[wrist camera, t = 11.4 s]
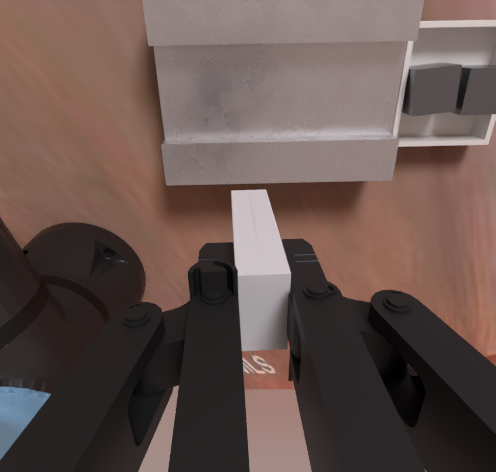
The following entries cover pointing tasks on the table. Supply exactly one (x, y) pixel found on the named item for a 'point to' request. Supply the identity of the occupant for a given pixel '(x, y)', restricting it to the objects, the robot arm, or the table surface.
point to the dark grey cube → (477, 90)
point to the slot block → (279, 88)
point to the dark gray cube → (431, 89)
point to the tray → (456, 52)
